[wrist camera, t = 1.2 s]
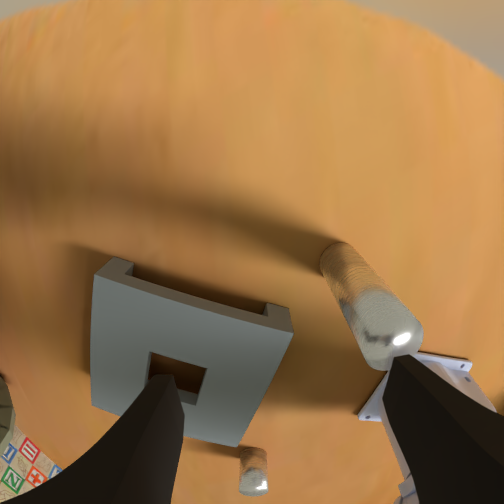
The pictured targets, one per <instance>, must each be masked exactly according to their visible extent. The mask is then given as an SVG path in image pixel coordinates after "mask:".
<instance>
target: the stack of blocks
mask: <svg viewBox="0 0 504 504" xmlns="http://www.w3.org/2000/svg"><path fill="white" fill-rule="evenodd" d="M61 471H63V470H62V469H61V468H59V467H58V466H57V465H56V464H54V462H52V461H51V460H50V459H49V458H48V457H47V456H46V455H45V454H44V453H42V452H41V451H40V450H39V449H38V448H37V447H36V446H35V445H34V444H33V443H32V442H31V441H30V440H29V439H28V438H27V437H26V436H25V435H24V434H23V433H22V432H21V431H20V430H19V428H18V427H17V426H16V425H15V424H14V433H13V438H12V440H11V441H10V443H9V445H8V446H7V448H6V450H5V451H4V453H3V455H2V456H1V457H0V502H3V501H6V500H8V499H11V498H13V497H16V496H18V495H21V494H23V493H25V492H27V491H29V490H31V489H33V488H35V487H37V486H39V485H41V484H42V483H44V482H46V481H47V480H49V479H51V478H53V477H54V476H56V475H57V474H58V473H60V472H61Z"/></svg>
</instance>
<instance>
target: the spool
mask: <svg viewBox="0 0 504 504" xmlns="http://www.w3.org/2000/svg"><path fill="white" fill-rule="evenodd" d="M15 416H16V414H15V411H14V408H13V404H12V400H11V397H10V393H9V389H8V386H7V385H6V383H5V382H4V380H3V379H2V378H1V376H0V457H1V456H2V455H3V453H4V451H5V450H6V448H7V446H8V445H9V443H10V441H11V440H12V438H13V433H14V424H15Z"/></svg>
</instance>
